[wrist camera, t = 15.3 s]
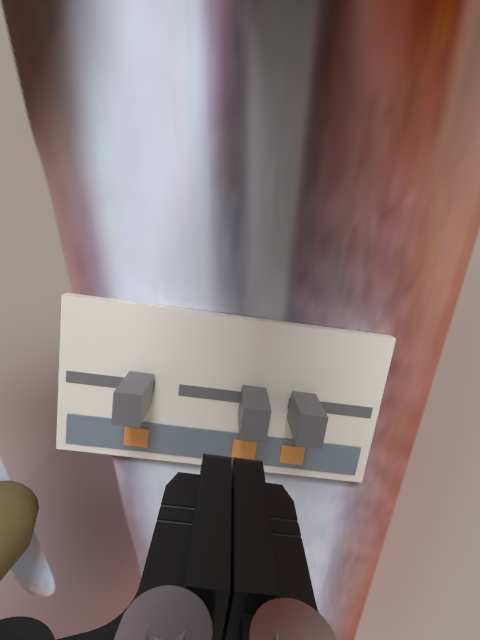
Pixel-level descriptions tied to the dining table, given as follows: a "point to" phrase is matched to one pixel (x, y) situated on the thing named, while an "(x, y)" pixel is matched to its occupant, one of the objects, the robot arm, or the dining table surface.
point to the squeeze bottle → (15, 522)
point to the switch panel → (216, 384)
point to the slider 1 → (132, 399)
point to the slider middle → (254, 414)
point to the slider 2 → (307, 420)
